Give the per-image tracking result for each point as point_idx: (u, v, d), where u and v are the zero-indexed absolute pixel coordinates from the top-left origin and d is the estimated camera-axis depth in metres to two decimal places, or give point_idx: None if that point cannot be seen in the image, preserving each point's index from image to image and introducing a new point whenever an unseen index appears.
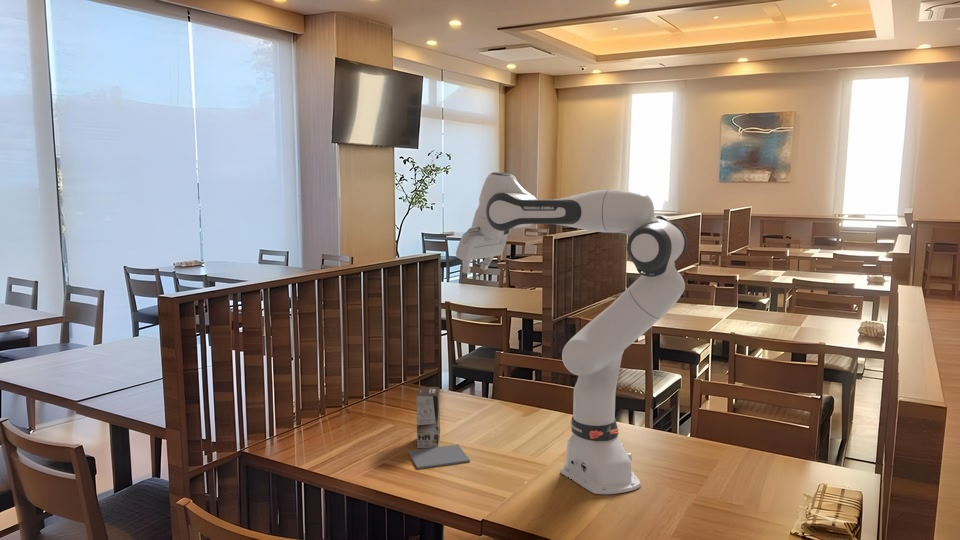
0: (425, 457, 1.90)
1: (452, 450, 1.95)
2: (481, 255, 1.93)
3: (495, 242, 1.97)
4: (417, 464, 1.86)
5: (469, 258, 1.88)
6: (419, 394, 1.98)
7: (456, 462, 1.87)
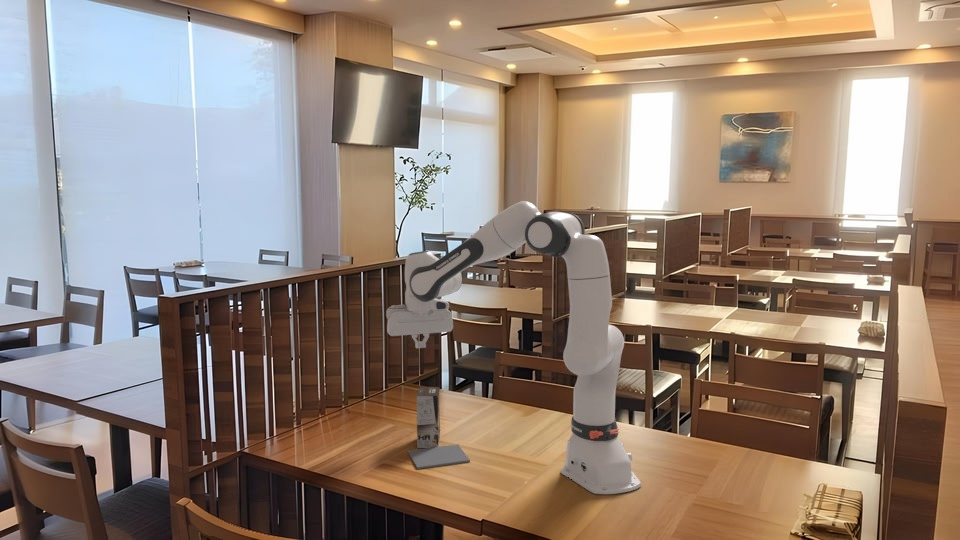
0: (425, 457, 1.90)
1: (452, 450, 1.95)
2: (416, 331, 2.05)
3: (435, 318, 2.07)
4: (417, 464, 1.86)
5: (396, 333, 2.03)
6: (419, 394, 1.98)
7: (456, 462, 1.87)
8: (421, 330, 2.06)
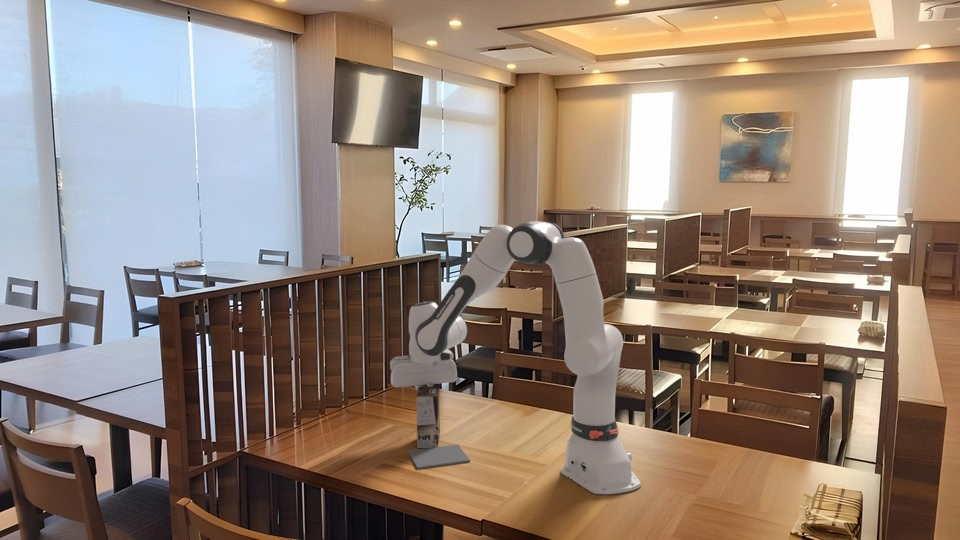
0: (425, 457, 1.90)
1: (452, 450, 1.95)
2: (420, 382, 2.04)
3: (439, 369, 2.05)
4: (417, 464, 1.86)
5: (400, 384, 2.02)
6: (419, 394, 1.97)
7: (456, 462, 1.87)
8: (425, 381, 2.04)
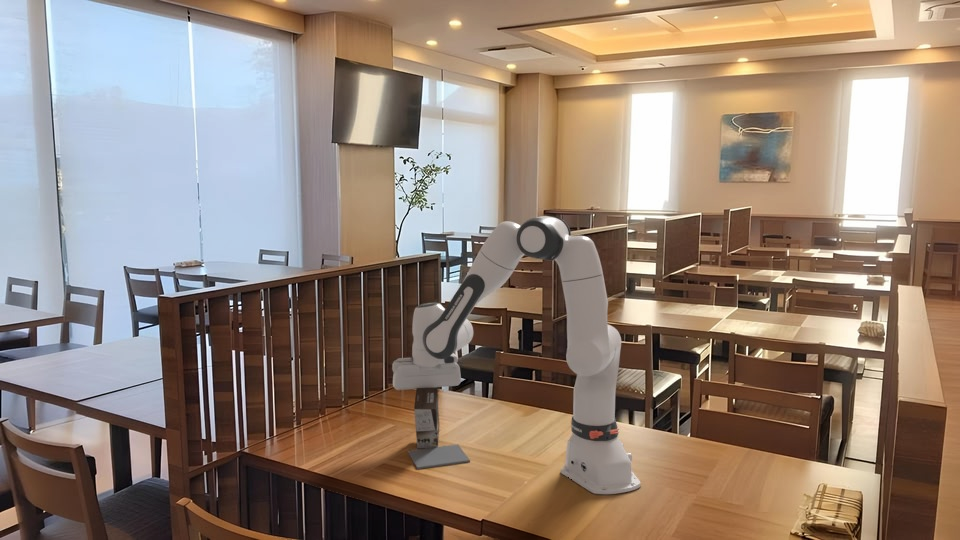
0: (425, 457, 1.90)
1: (452, 450, 1.95)
2: (422, 385, 1.98)
3: (442, 372, 2.00)
4: (417, 464, 1.86)
5: (402, 387, 1.97)
6: (416, 405, 1.91)
7: (456, 462, 1.87)
8: (428, 384, 1.99)
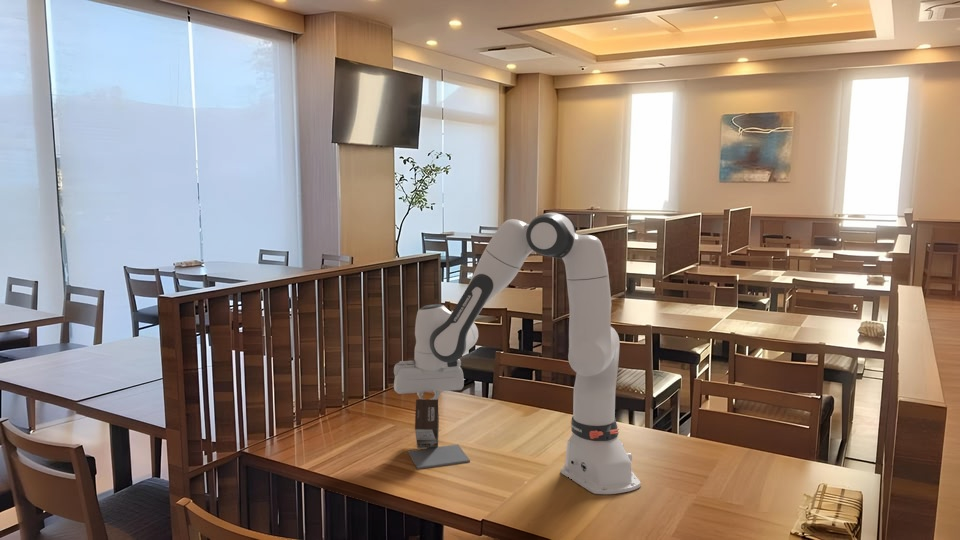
0: (425, 457, 1.90)
1: (452, 450, 1.95)
2: (424, 389, 1.93)
3: (445, 375, 1.95)
4: (417, 464, 1.86)
5: (403, 391, 1.91)
6: (417, 424, 1.86)
7: (456, 462, 1.87)
8: (430, 388, 1.94)
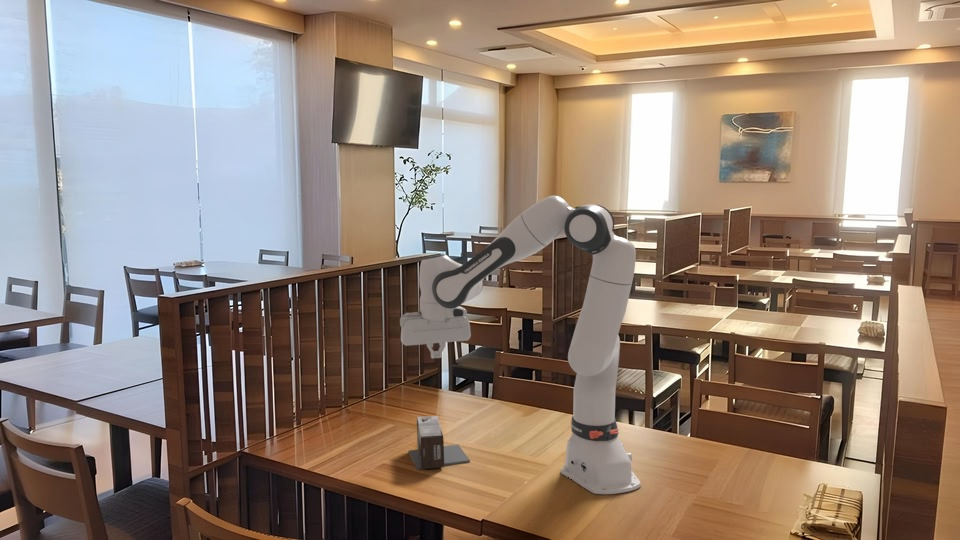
0: None
1: (452, 450, 1.95)
2: (431, 340, 1.92)
3: (452, 326, 1.94)
4: (417, 464, 1.86)
5: (411, 342, 1.90)
6: (423, 463, 1.83)
7: (456, 462, 1.87)
8: (437, 339, 1.93)
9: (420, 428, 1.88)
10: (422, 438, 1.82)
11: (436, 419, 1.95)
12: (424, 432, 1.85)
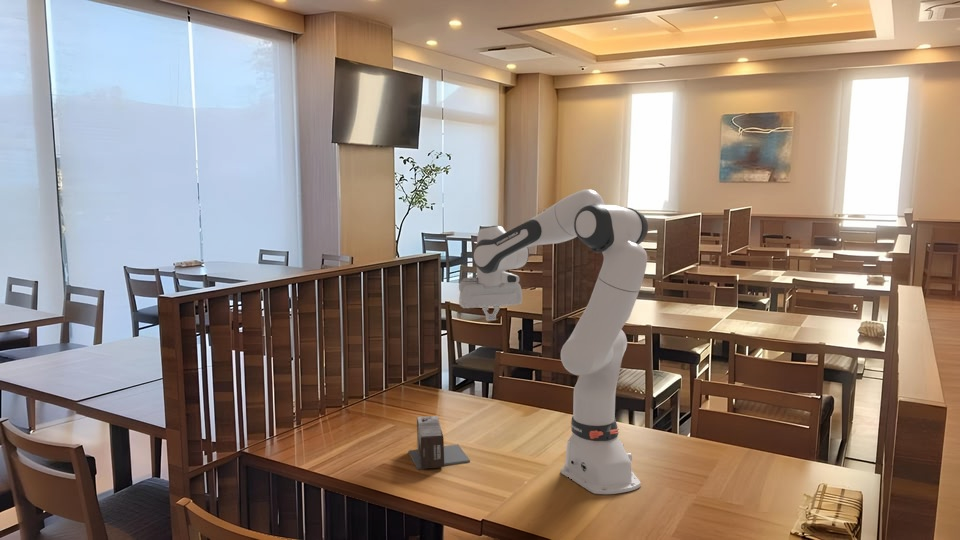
0: None
1: (452, 450, 1.95)
2: (487, 303, 2.11)
3: (505, 291, 2.13)
4: (417, 464, 1.86)
5: (469, 305, 2.09)
6: (423, 463, 1.83)
7: (456, 462, 1.87)
8: (492, 303, 2.12)
9: (420, 428, 1.88)
10: (422, 438, 1.82)
11: (436, 419, 1.95)
12: (424, 432, 1.85)
